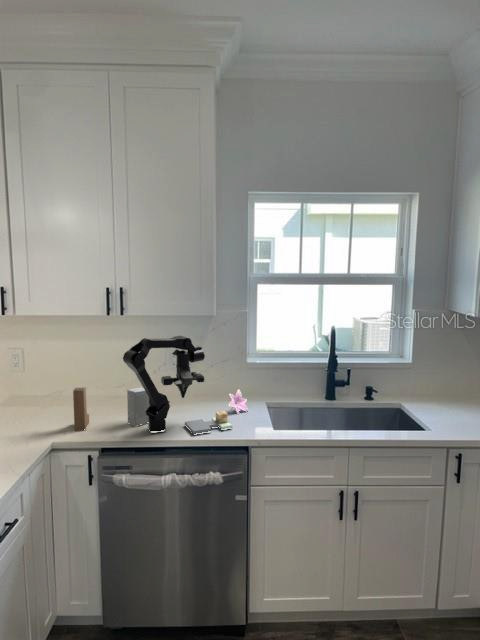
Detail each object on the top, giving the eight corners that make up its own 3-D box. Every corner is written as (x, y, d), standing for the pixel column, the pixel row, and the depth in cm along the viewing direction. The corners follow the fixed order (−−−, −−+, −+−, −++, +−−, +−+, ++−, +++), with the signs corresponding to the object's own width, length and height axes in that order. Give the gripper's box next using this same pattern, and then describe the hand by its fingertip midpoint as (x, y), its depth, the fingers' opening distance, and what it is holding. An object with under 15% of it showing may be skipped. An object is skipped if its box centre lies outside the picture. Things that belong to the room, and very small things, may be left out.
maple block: (219, 423, 193) (219, 414, 193) (215, 420, 197) (215, 412, 197) (227, 422, 195) (227, 413, 195) (223, 419, 199) (223, 410, 198)
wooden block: (79, 423, 196) (77, 384, 194) (89, 423, 197) (88, 384, 195) (74, 430, 188) (72, 390, 185) (85, 430, 188) (83, 390, 186)
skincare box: (135, 427, 193) (134, 392, 190) (126, 423, 197) (125, 389, 195) (151, 422, 199) (151, 389, 197) (142, 418, 204) (142, 385, 201)
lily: (224, 417, 211) (232, 402, 207) (220, 400, 220) (228, 386, 217) (245, 421, 215) (254, 407, 211) (241, 405, 225) (249, 391, 221)
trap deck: (193, 435, 185) (193, 431, 184) (184, 426, 195) (184, 421, 195) (232, 429, 192) (232, 425, 192) (221, 420, 203) (221, 416, 203)
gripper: (166, 369, 184) (166, 405, 186) (208, 366, 192) (208, 400, 194) (160, 364, 195) (160, 397, 197) (200, 361, 202) (200, 393, 204)
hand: (182, 397), depth 197 cm, fingers closed
